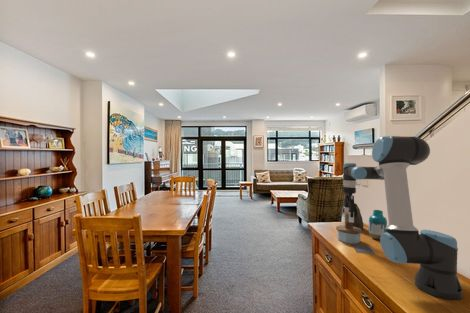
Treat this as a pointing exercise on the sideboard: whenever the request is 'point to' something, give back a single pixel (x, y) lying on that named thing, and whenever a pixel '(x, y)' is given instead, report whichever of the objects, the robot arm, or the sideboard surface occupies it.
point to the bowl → (348, 237)
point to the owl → (357, 218)
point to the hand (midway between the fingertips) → (348, 219)
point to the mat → (363, 249)
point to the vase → (377, 224)
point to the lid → (348, 226)
